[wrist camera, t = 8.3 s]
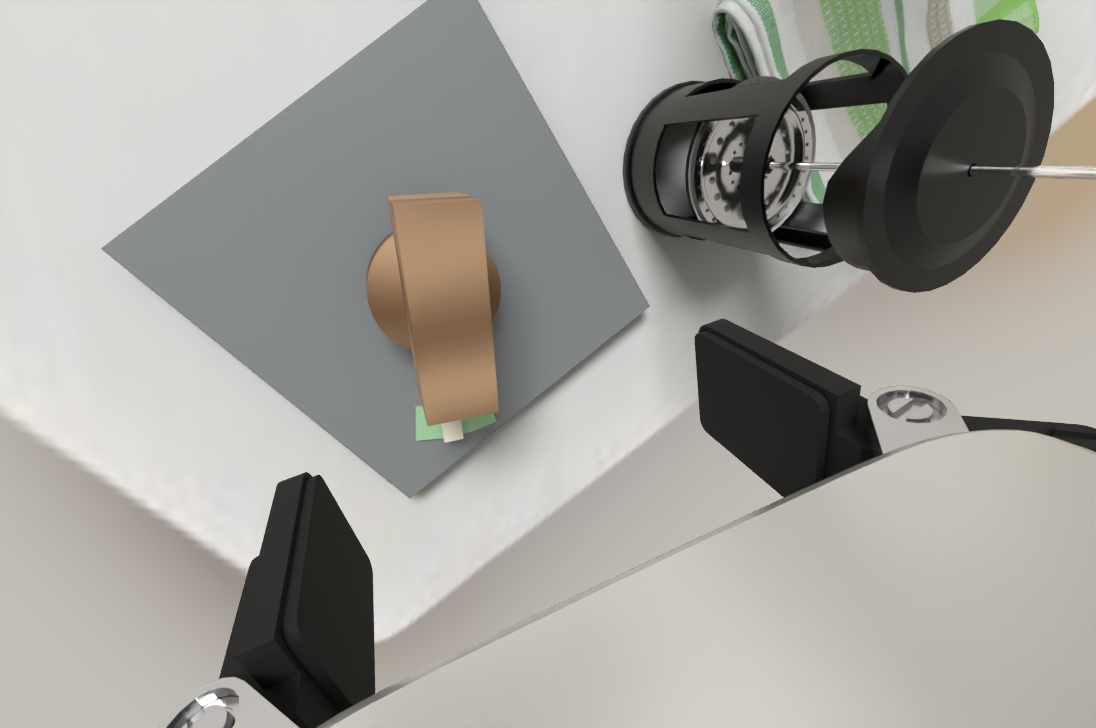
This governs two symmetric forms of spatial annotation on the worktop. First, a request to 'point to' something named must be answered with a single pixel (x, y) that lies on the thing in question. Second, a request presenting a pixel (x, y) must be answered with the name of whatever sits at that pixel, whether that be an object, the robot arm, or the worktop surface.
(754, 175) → the french press
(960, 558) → the robot arm
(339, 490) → the worktop surface
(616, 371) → the worktop surface
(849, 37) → the dish towel
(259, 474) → the worktop surface
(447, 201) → the knob
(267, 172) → the dial plate
